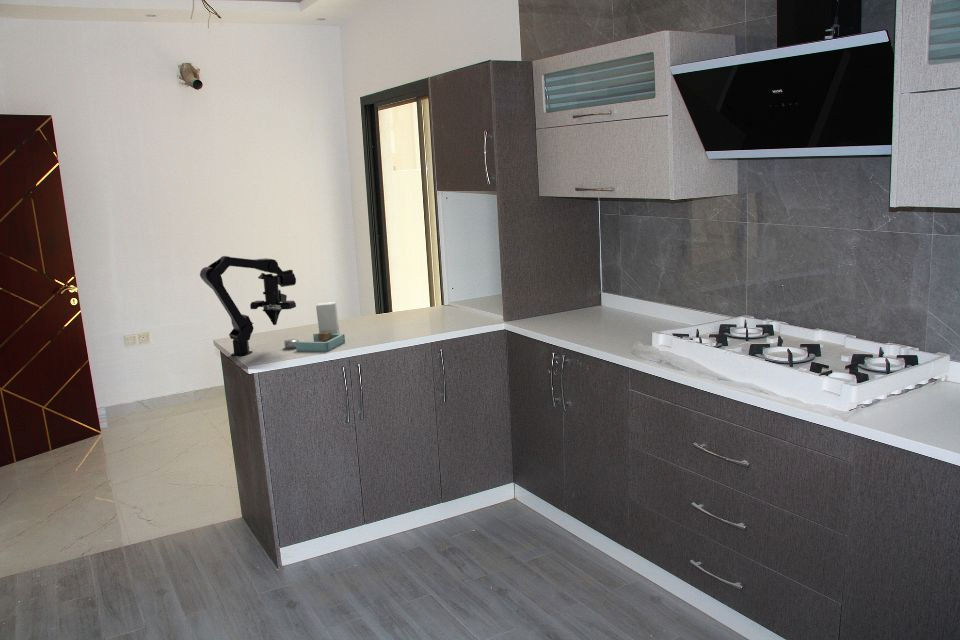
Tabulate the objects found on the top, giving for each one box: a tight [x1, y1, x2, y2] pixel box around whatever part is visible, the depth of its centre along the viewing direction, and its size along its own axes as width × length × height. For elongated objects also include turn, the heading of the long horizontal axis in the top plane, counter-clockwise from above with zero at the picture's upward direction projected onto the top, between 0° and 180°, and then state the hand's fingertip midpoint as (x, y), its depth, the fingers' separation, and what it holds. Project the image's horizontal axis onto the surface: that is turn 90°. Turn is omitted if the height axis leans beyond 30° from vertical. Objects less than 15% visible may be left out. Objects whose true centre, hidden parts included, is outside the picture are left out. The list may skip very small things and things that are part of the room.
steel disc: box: [283, 338, 300, 350], centre depth 336 cm, size 6×6×3 cm
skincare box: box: [315, 301, 341, 334], centre depth 351 cm, size 8×7×16 cm
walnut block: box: [317, 332, 331, 342], centre depth 339 cm, size 4×4×5 cm
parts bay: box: [295, 333, 346, 352], centre depth 336 cm, size 16×14×4 cm
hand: (274, 324), depth 337 cm, fingers closed
